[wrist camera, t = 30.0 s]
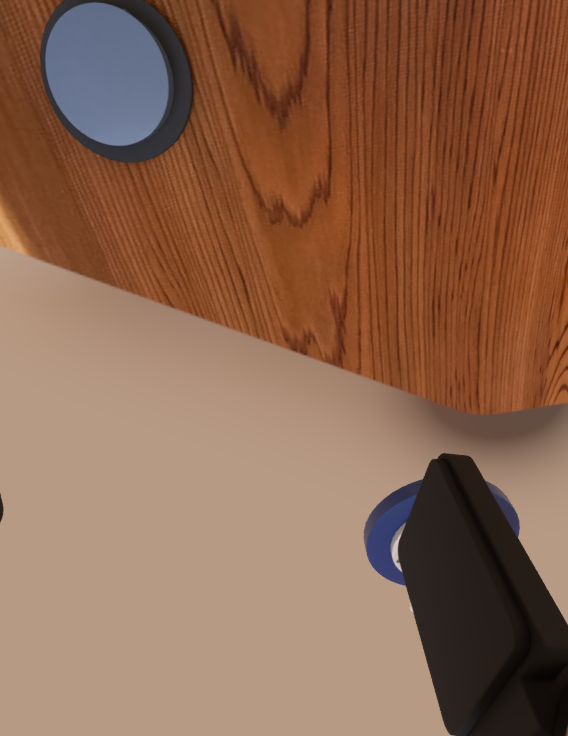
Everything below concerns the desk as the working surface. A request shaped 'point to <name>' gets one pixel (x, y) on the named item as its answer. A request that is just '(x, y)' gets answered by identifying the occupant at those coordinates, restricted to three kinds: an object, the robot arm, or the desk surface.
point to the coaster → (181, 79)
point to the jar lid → (109, 74)
